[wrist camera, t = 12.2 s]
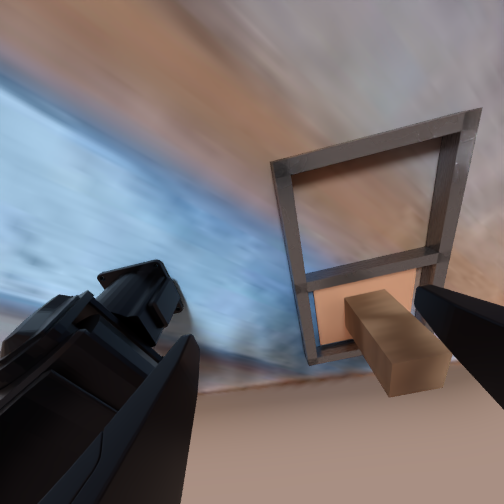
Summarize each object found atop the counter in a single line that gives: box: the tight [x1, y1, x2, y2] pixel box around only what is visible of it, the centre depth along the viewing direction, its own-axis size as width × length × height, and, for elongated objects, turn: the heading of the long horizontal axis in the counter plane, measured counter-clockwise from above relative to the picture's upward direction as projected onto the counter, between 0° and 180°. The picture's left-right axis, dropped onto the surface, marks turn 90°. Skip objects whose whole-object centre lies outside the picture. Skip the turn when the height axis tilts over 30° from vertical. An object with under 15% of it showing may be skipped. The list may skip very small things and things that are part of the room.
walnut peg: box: [344, 289, 452, 397], centre depth 20 cm, size 4×4×8 cm
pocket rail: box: [270, 108, 482, 366], centre depth 21 cm, size 15×24×2 cm, turn 13°
